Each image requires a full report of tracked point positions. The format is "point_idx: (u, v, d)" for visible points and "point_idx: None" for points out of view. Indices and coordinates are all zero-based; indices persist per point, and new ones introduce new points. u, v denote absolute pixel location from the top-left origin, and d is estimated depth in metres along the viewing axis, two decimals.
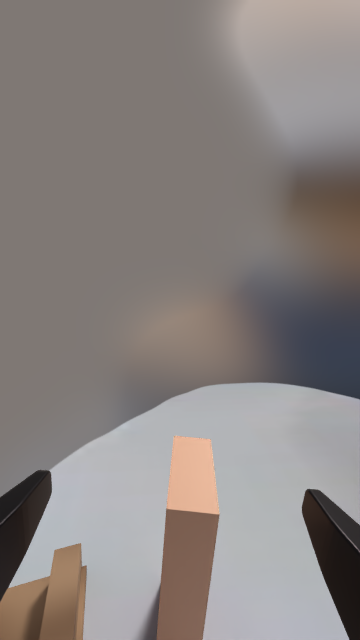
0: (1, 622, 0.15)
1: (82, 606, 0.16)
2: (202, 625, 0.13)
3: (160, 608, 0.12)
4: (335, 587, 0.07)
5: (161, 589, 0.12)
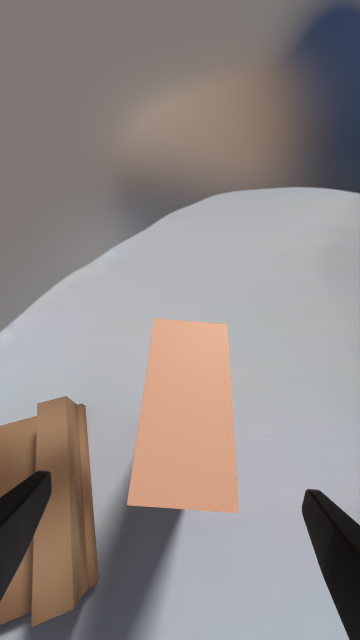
0: (7, 450, 0.16)
1: (83, 436, 0.17)
2: None
3: None
4: (335, 587, 0.07)
5: None
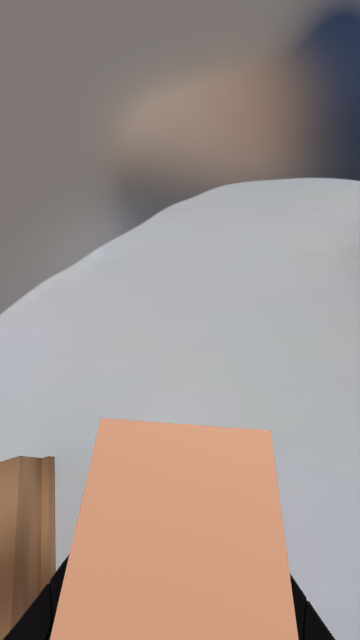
0: None
1: (46, 506, 0.12)
2: None
3: None
4: None
5: None
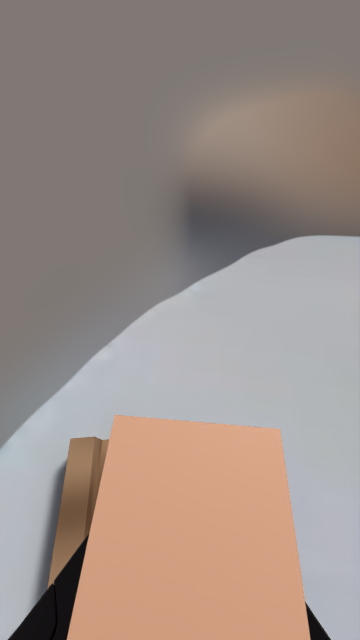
0: None
1: None
2: None
3: None
4: None
5: None
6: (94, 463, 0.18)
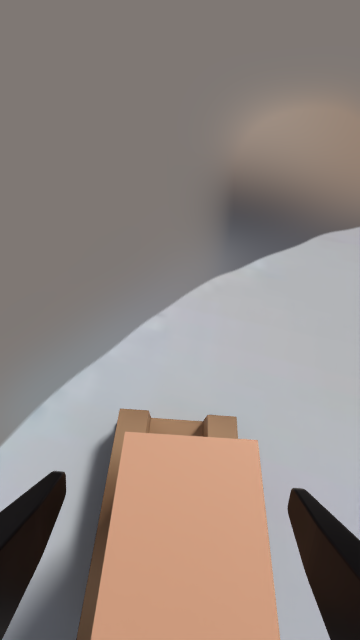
0: None
1: None
2: None
3: None
4: (317, 586, 0.07)
5: None
6: None
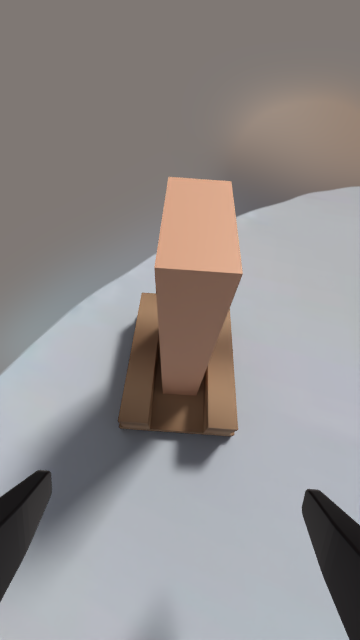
0: None
1: None
2: (204, 368, 0.13)
3: (162, 359, 0.12)
4: (335, 587, 0.07)
5: (161, 348, 0.11)
6: None
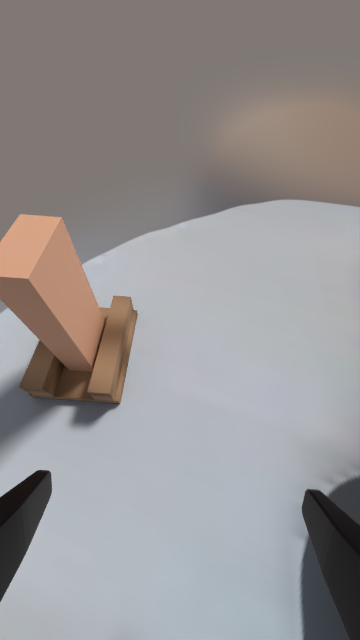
0: None
1: (132, 328, 0.25)
2: (75, 346, 0.18)
3: (39, 338, 0.17)
4: (335, 587, 0.07)
5: (30, 329, 0.16)
6: None
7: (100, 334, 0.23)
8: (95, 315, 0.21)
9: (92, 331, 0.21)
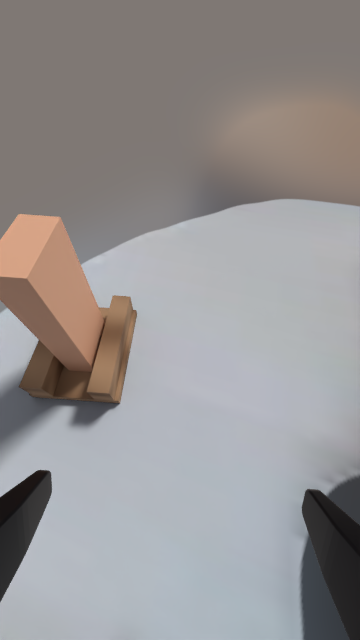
0: None
1: (131, 328, 0.25)
2: (74, 346, 0.18)
3: (39, 338, 0.17)
4: (335, 587, 0.07)
5: (29, 328, 0.16)
6: None
7: (100, 334, 0.23)
8: (94, 315, 0.21)
9: (92, 331, 0.21)
